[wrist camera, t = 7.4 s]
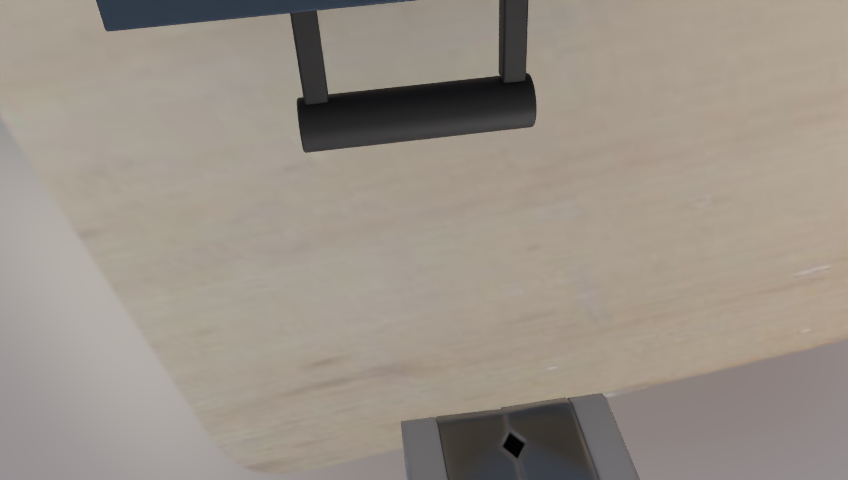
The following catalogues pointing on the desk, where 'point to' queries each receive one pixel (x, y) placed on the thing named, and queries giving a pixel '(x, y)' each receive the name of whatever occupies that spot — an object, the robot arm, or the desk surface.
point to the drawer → (372, 109)
